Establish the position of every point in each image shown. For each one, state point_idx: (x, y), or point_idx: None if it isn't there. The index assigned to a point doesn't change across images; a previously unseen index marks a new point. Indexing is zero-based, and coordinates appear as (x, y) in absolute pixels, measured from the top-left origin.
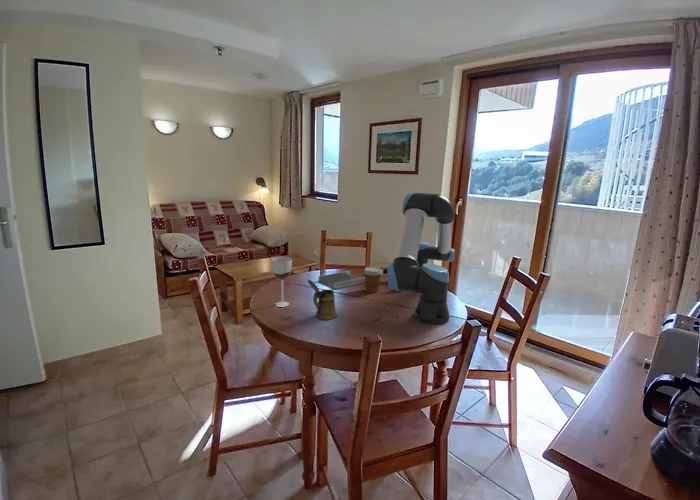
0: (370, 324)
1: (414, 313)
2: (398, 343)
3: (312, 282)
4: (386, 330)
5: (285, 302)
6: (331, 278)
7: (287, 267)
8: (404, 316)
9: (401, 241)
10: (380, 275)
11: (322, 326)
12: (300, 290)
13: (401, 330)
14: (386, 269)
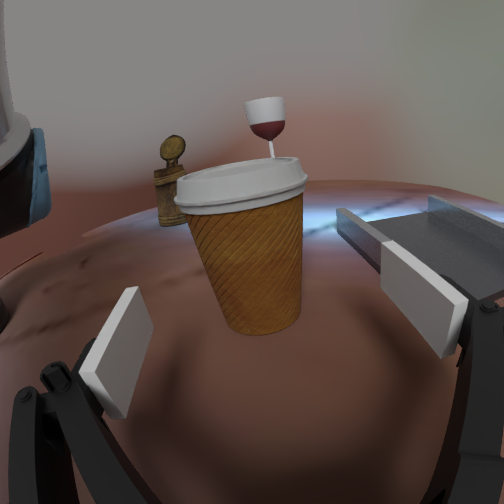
0: (88, 252)
1: (5, 307)
2: (31, 262)
3: (165, 140)
4: (54, 262)
5: None
6: (461, 227)
7: (246, 115)
8: (31, 300)
9: (4, 40)
10: (191, 223)
11: (153, 217)
12: (356, 199)
13: (30, 275)
14: (489, 347)
